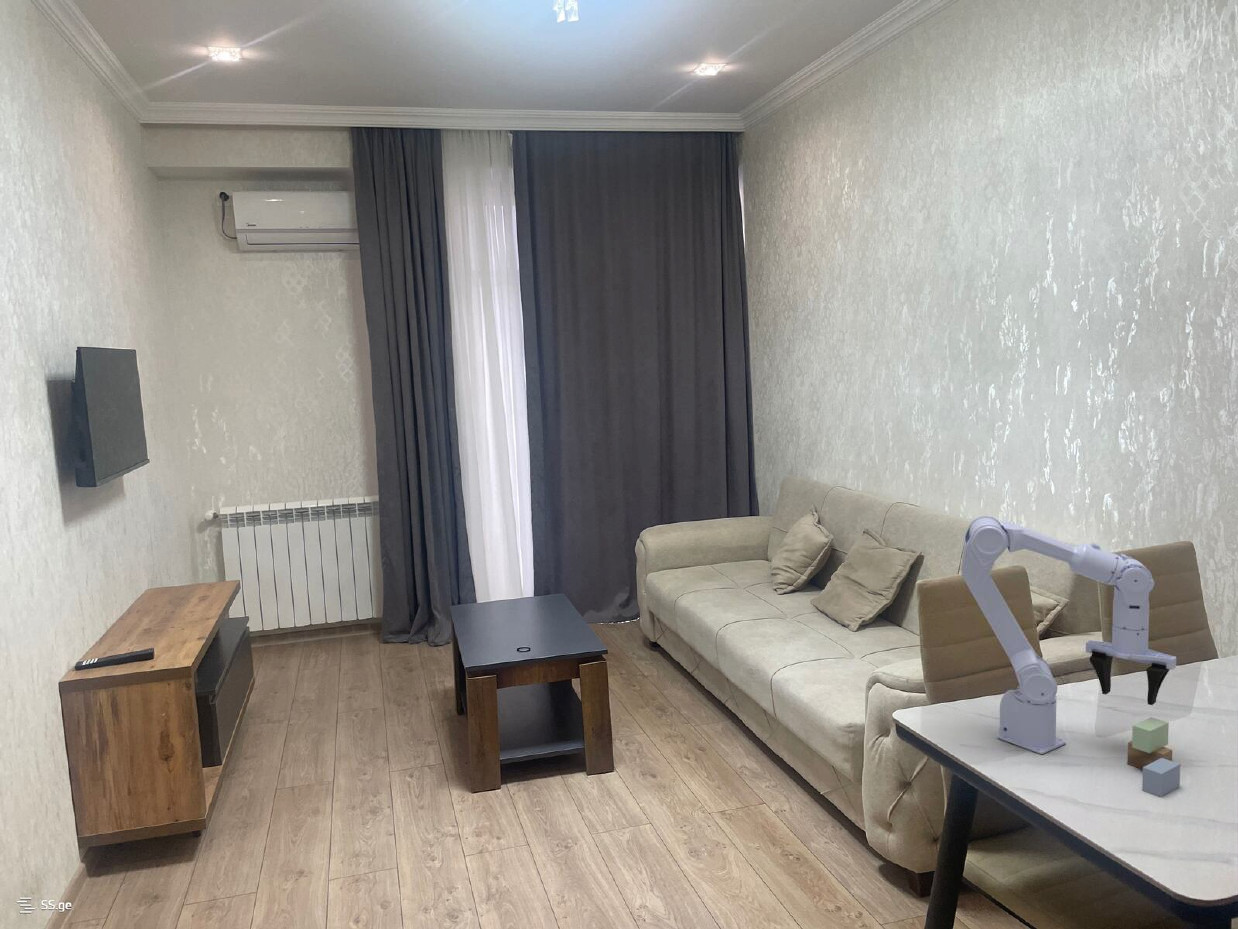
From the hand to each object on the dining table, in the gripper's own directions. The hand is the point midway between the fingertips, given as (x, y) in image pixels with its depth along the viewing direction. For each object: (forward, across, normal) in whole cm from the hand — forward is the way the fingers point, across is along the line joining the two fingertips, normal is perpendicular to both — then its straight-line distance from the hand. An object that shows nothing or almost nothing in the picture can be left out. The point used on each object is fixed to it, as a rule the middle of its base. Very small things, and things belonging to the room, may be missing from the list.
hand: (1128, 698), depth 164 cm
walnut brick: (+10, +5, -5) cm, 12 cm away
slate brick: (+10, +9, -12) cm, 18 cm away
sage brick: (+6, +5, -5) cm, 9 cm away
